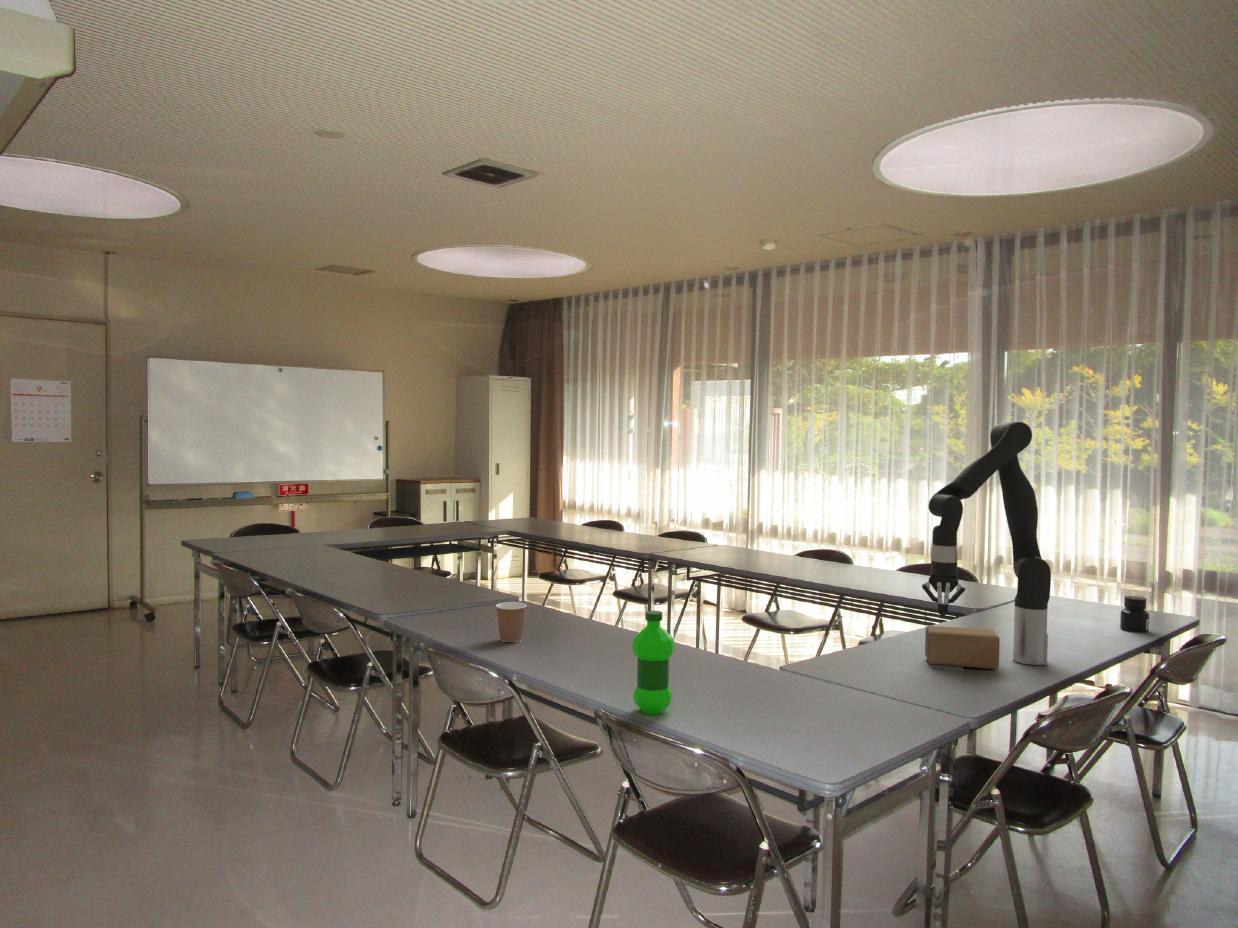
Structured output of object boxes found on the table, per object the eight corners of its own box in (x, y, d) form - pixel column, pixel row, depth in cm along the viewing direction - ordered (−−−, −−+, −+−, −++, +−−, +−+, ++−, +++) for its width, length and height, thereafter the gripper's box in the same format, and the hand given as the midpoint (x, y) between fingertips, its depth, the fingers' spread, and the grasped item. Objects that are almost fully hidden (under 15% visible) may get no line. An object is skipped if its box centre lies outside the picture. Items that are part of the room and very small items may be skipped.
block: (928, 664, 250) (999, 670, 245) (929, 631, 249) (1000, 636, 244) (924, 656, 259) (993, 661, 254) (925, 624, 259) (993, 629, 254)
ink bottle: (1154, 633, 296) (1156, 600, 295) (1130, 633, 296) (1131, 600, 295) (1138, 627, 305) (1139, 595, 305) (1114, 626, 305) (1115, 594, 305)
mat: (961, 660, 257) (961, 658, 257) (963, 671, 245) (963, 669, 245) (930, 657, 260) (930, 655, 260) (931, 668, 248) (931, 666, 248)
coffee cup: (529, 637, 280) (529, 602, 279) (522, 644, 269) (523, 608, 269) (499, 636, 281) (499, 601, 280) (492, 643, 270) (492, 607, 270)
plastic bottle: (676, 717, 203) (677, 616, 202) (633, 717, 202) (634, 616, 201) (670, 703, 212) (671, 607, 212) (630, 704, 212) (631, 608, 211)
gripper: (966, 559, 253) (965, 615, 253) (920, 556, 257) (919, 611, 258) (968, 562, 246) (966, 620, 246) (921, 560, 250) (919, 616, 251)
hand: (942, 615), depth 252 cm, fingers closed
